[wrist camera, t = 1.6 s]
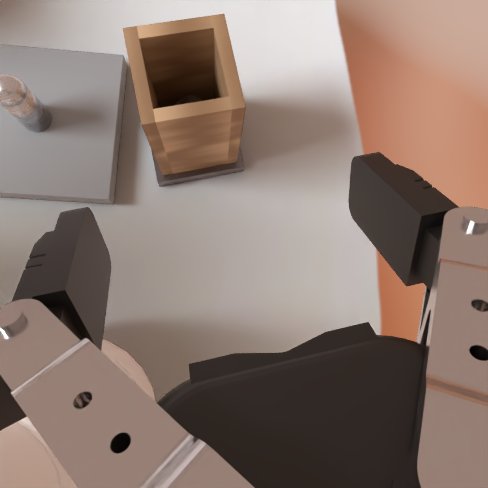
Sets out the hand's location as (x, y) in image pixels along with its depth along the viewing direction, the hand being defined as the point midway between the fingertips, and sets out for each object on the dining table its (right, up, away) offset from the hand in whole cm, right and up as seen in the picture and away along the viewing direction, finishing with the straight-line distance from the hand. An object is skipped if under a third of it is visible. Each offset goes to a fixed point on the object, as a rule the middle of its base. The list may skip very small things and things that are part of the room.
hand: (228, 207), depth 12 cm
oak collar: (-4, +8, +19) cm, 21 cm away
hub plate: (-16, +8, +19) cm, 26 cm away
